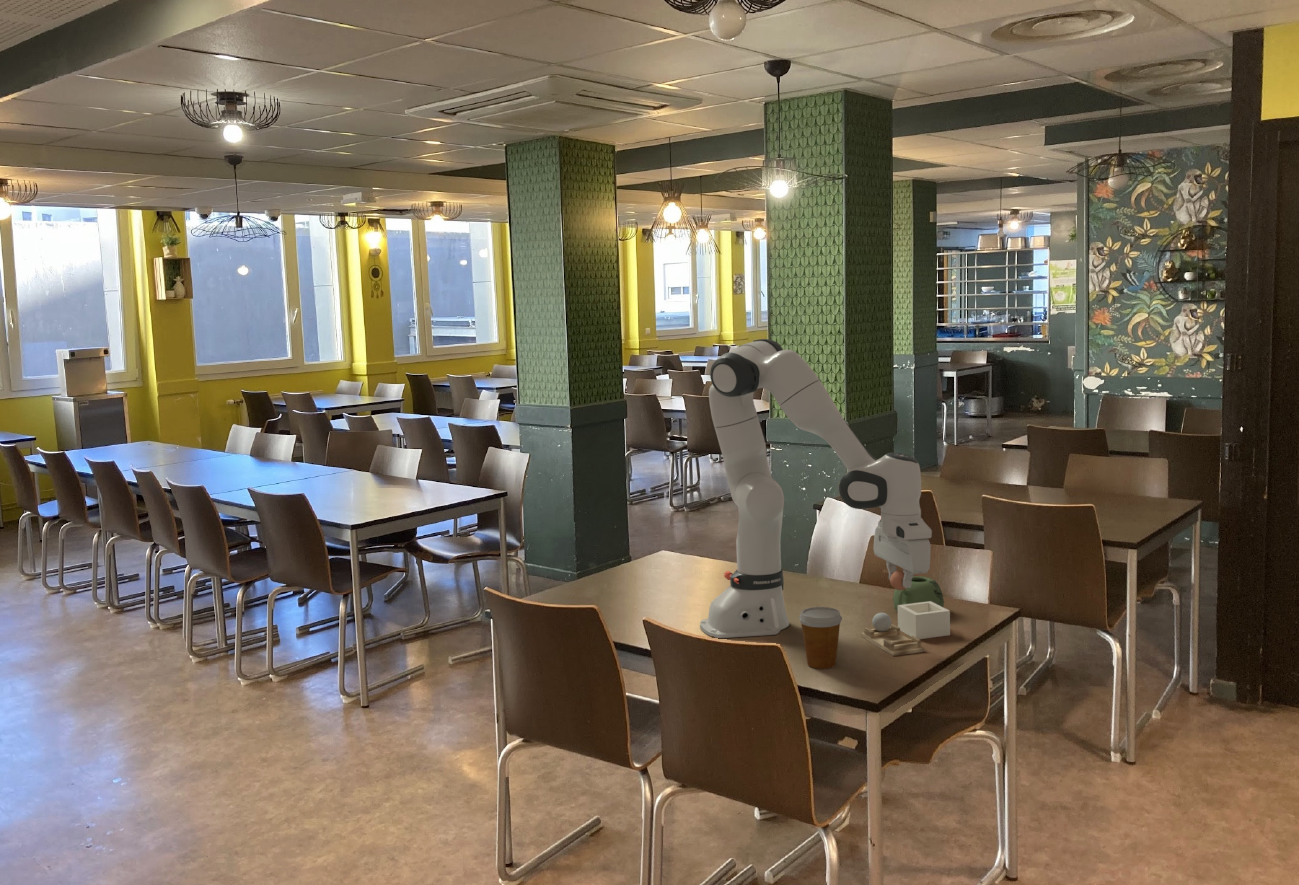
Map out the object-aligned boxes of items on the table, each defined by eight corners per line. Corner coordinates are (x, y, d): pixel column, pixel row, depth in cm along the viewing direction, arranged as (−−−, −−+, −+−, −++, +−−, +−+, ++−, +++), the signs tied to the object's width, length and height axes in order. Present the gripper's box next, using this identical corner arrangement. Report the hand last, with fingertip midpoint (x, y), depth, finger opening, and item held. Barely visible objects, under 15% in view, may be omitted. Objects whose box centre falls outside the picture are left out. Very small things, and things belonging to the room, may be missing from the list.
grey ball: (877, 634, 251) (877, 616, 251) (869, 629, 256) (868, 611, 255) (895, 632, 252) (894, 614, 252) (886, 627, 257) (885, 609, 256)
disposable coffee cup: (803, 656, 243) (802, 605, 242) (845, 658, 241) (844, 607, 239) (797, 670, 234) (795, 617, 233) (840, 672, 232) (839, 619, 230)
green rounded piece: (908, 602, 283) (907, 570, 282) (953, 609, 274) (953, 577, 273) (877, 616, 271) (876, 583, 270) (922, 625, 263) (922, 591, 262)
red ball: (896, 593, 240) (896, 573, 240) (886, 588, 245) (886, 569, 244) (913, 591, 242) (914, 572, 241) (904, 586, 246) (904, 567, 245)
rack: (892, 656, 241) (892, 645, 240) (861, 635, 256) (861, 626, 256) (924, 651, 243) (924, 641, 242) (891, 631, 258) (891, 622, 258)
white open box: (916, 639, 252) (915, 615, 251) (897, 629, 260) (897, 605, 259) (950, 635, 254) (949, 610, 253) (930, 624, 262) (930, 601, 262)
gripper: (867, 517, 250) (866, 574, 252) (910, 534, 231) (909, 596, 233) (891, 515, 252) (890, 572, 254) (936, 532, 232) (935, 593, 234)
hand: (899, 583), depth 243 cm, fingers closed on red ball, 4 cm apart
